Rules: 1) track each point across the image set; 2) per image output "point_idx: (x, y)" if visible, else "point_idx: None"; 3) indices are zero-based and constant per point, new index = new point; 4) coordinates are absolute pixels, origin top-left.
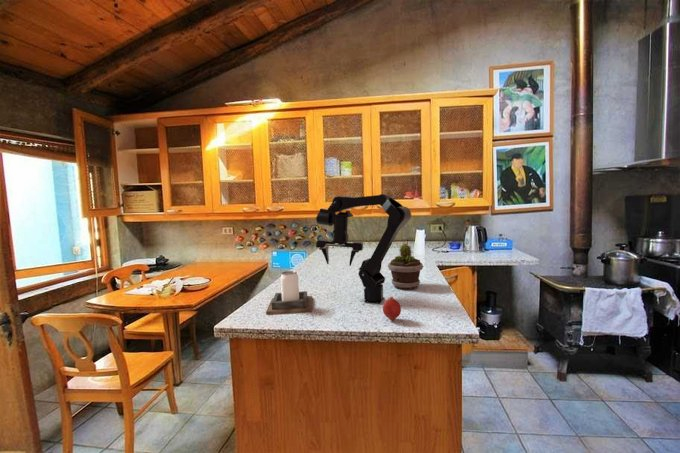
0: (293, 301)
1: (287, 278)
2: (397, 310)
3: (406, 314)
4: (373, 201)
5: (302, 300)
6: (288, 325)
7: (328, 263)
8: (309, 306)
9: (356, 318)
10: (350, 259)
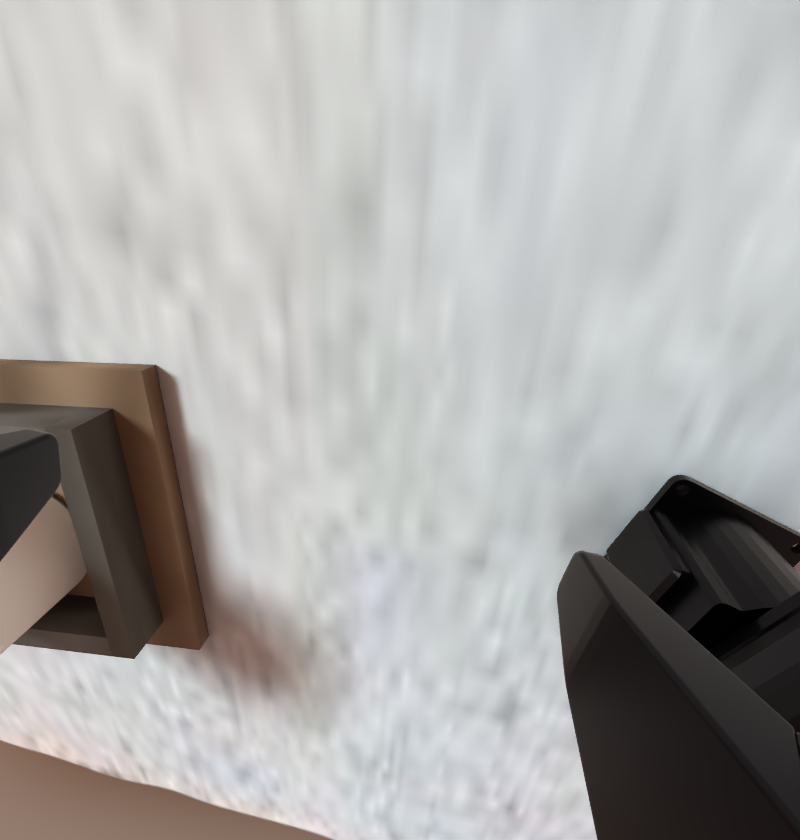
0: (51, 646)
1: None
2: None
3: None
4: None
5: (106, 646)
6: (135, 753)
7: (49, 463)
8: (178, 609)
9: (467, 779)
10: (606, 835)
